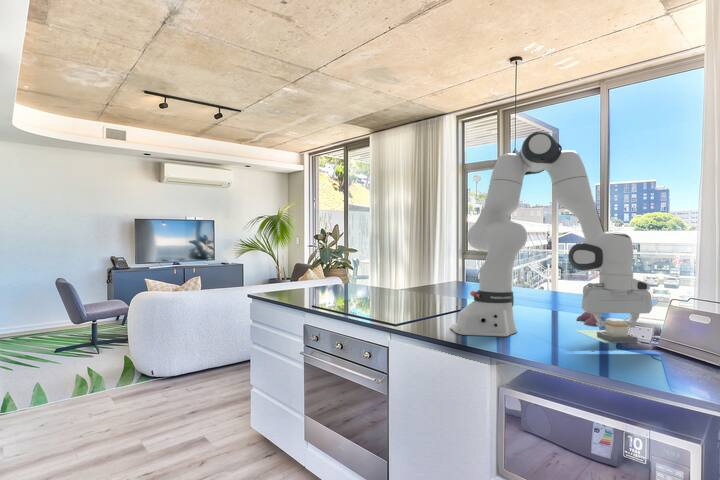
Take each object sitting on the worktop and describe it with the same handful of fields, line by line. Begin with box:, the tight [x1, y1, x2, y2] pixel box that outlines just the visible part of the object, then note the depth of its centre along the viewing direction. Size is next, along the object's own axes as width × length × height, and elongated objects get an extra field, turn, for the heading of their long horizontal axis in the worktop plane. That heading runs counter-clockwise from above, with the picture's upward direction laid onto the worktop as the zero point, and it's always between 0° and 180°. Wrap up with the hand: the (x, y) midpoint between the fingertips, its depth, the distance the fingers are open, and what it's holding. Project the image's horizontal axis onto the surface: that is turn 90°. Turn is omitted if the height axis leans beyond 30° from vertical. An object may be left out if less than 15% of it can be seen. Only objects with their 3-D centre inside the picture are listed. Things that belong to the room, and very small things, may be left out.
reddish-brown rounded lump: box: [576, 311, 597, 326], centre depth 154 cm, size 10×5×7 cm, turn 170°
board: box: [574, 329, 641, 344], centre depth 132 cm, size 11×17×2 cm, turn 1°
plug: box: [604, 318, 628, 337], centre depth 128 cm, size 4×4×6 cm
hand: (616, 327), depth 128 cm, fingers open, 8 cm apart
